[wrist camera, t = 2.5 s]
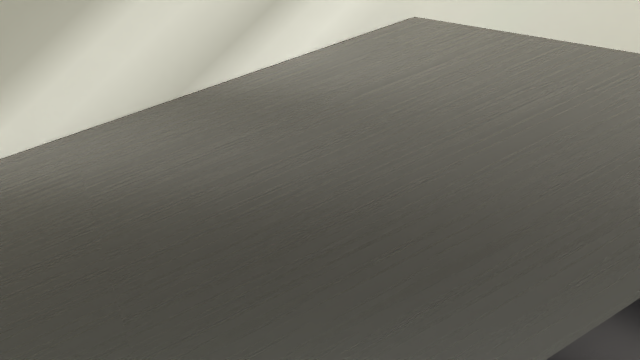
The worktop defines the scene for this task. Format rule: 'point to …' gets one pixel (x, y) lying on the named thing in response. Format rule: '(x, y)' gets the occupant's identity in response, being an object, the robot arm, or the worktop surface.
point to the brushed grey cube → (343, 211)
